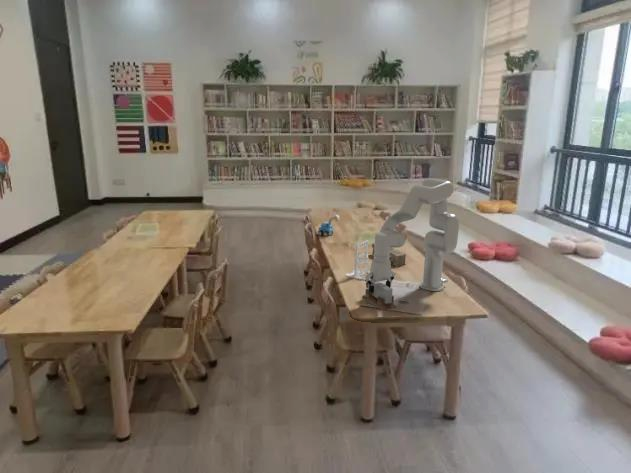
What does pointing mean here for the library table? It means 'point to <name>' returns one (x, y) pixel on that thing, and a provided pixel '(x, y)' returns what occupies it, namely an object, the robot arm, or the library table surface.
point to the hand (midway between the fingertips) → (379, 290)
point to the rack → (379, 301)
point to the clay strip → (382, 292)
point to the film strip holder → (356, 272)
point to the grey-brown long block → (395, 257)
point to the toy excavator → (327, 227)
